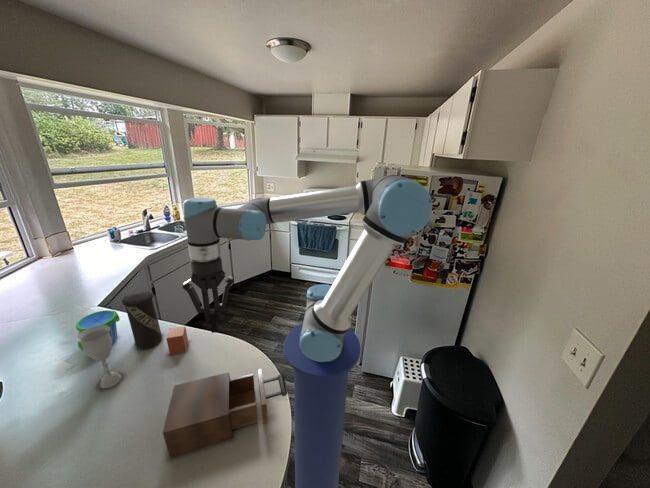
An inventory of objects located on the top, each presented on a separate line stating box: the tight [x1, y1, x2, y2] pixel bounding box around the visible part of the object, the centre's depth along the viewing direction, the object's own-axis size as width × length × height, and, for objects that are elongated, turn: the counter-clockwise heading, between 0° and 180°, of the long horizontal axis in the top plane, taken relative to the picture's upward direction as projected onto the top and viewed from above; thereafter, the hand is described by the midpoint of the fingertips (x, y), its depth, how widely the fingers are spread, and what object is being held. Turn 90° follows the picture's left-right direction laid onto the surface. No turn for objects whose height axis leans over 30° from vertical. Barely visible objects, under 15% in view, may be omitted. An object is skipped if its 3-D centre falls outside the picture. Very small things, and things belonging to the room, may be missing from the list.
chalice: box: [76, 325, 122, 389], centre depth 73 cm, size 7×7×18 cm
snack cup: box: [75, 309, 121, 351], centre depth 89 cm, size 16×10×10 cm
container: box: [121, 289, 163, 350], centre depth 88 cm, size 9×9×20 cm
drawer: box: [229, 368, 288, 431], centre depth 68 cm, size 18×11×7 cm, turn 109°
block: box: [165, 325, 189, 355], centre depth 88 cm, size 5×5×7 cm
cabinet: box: [162, 371, 233, 458], centre depth 64 cm, size 14×13×9 cm
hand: (214, 329), depth 74 cm, fingers closed
